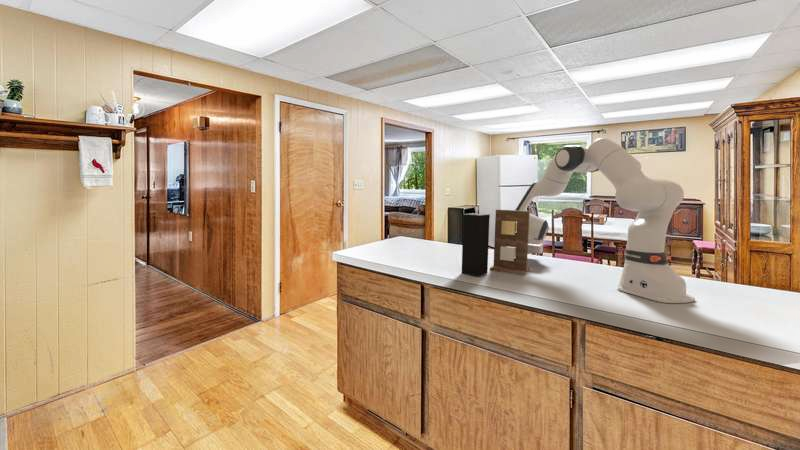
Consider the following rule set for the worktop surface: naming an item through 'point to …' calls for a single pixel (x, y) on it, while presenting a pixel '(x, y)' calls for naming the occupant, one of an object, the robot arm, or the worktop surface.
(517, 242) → the call panel
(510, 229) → the upper button
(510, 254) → the lower button
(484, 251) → the tall black box
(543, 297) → the worktop surface
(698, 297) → the worktop surface
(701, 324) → the worktop surface
